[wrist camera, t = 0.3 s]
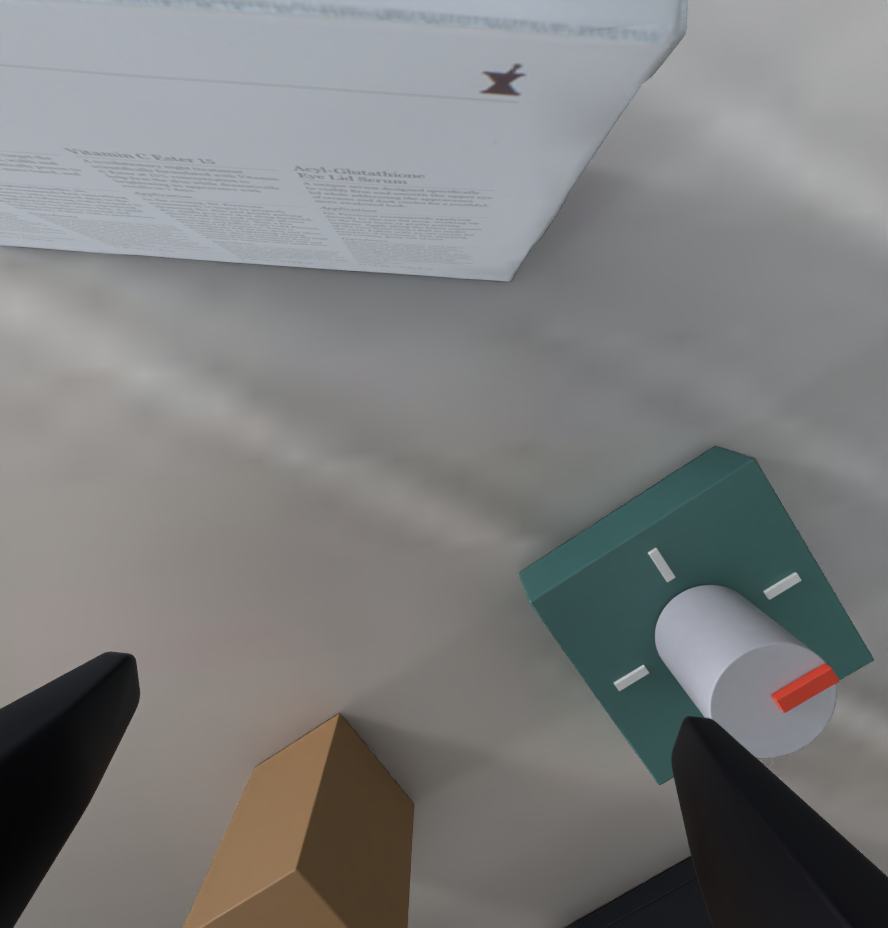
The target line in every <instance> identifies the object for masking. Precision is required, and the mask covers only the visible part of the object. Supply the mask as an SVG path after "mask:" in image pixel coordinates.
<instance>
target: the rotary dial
mask: <svg viewBox="0 0 888 928" xmlns="http://www.w3.org/2000/svg"><path fill="white" fill-rule="evenodd" d="M519 576H520V578H521V581H522V584H523V586H524V589H525V592H526V594H527V597H528V600H529V602H530V604H531V605H532V607H533V608H534V610H535V611H536V612H537V614H538V615H539V617H540V618H541V619H542V621H543V622H544V624H545V625H546V627H547V628H548V629H549V631H550V632H551V634H552V635H553V636H554V638H555V639H556V641H557V642H558V643H559V645H560V646H561V648H562V649H563V651H564V652H565V653H566V655H567V656H568V658H569V659H570V660H571V662H572V663H573V665H574V666H575V667H576V669H577V670H578V672H579V673H580V675H581V676H582V677H583V679H584V680H585V682H586V683H587V684H588V686H589V687H590V689H591V690H592V692H593V693H594V694H595V696H596V697H597V699H598V700H599V701H600V703H601V704H602V706H603V707H604V708H605V710H606V711H607V713H608V714H609V716H610V717H611V718H612V720H613V721H614V723H615V724H616V725H617V727H618V728H619V730H620V731H621V732H622V734H623V735H624V737H625V738H626V740H627V741H628V742H629V744H630V745H631V747H632V748H633V749H634V751H635V752H636V754H637V755H638V756H639V758H640V759H641V761H642V762H643V764H644V765H645V766H646V768H647V769H648V771H649V772H650V773H651V775H652V776H653V778H654V779H655V780H656V782H657V783H658V784H659V785H661V784H663V783H665V782H666V781H668V780H670V779H671V778H673V777H674V775H673V771H672V765H671V755H672V750H673V747H674V744H675V741H676V738H677V735H678V732H679V730H680V727H681V724H682V721H683V719H684V718H685V717H687V716H697V717H704V716H703V714H702V713H701V712H700V710H699V709H698V708H697V706H696V705H695V704H694V702H693V701H692V700H691V698H690V697H689V696H688V694H687V693H686V692H685V690H684V689H683V688H682V686H681V685H680V684H679V682H678V681H677V679H676V678H675V677H674V675H673V674H672V673H671V671H670V670H669V669H668V667H667V666H666V665H665V663H664V662H663V661H662V659H661V657H660V656H659V654H658V651H657V648H656V644H655V629H656V624H657V621H658V619H659V616H660V614H661V612H662V611H663V609H664V608H665V607H666V605H667V604H668V603H669V602H670V601H671V600H672V599H673V598H674V597H676V596H677V595H679V594H680V593H682V592H684V591H686V590H688V589H690V588H693V587H697V586H702V585H719V586H724V587H727V588H730V589H732V590H734V591H736V592H738V593H739V594H740V595H742V596H743V597H744V598H746V599H747V600H748V601H750V602H751V603H752V604H753V605H755V606H756V607H757V608H758V609H760V610H761V611H762V612H764V613H765V614H766V615H767V616H769V617H770V618H771V619H773V620H774V621H775V622H776V623H778V624H779V625H780V626H782V627H783V628H784V629H785V630H787V631H788V632H789V633H791V634H792V635H793V636H794V637H796V638H797V639H798V640H800V641H801V642H802V643H803V644H805V645H806V646H807V647H809V648H810V649H811V650H812V651H814V652H815V653H816V654H818V655H819V656H820V657H821V658H822V659H823V660H824V661H825V662H826V664H827V665H829V666H830V667H831V668H832V669H833V671H834V673H835V674H836V676H837V677H838V679H839V680H841V679H842V678H844V677H846V676H848V675H849V674H851V673H853V672H854V671H856V670H858V669H860V668H861V667H863V666H865V665H866V664H868V663H870V662H872V661H873V660H874V659H873V657H872V655H871V653H870V652H869V650H868V648H867V647H866V645H865V643H864V642H863V640H862V638H861V637H860V635H859V633H858V632H857V630H856V628H855V626H854V625H853V623H852V621H851V620H850V618H849V616H848V615H847V613H846V611H845V610H844V608H843V606H842V605H841V603H840V601H839V599H838V598H837V596H836V594H835V593H834V591H833V589H832V588H831V586H830V584H829V583H828V581H827V579H826V578H825V576H824V574H823V572H822V571H821V569H820V567H819V566H818V564H817V562H816V561H815V559H814V557H813V556H812V554H811V552H810V550H809V549H808V547H807V545H806V544H805V542H804V540H803V539H802V537H801V535H800V534H799V532H798V530H797V529H796V527H795V525H794V523H793V522H792V520H791V518H790V517H789V515H788V513H787V512H786V510H785V508H784V507H783V505H782V503H781V502H780V500H779V498H778V496H777V495H776V493H775V491H774V490H773V488H772V486H771V485H770V483H769V481H768V480H767V478H766V476H765V474H764V473H763V471H762V469H761V468H760V466H759V464H758V463H757V461H756V459H755V458H753V457H750V456H746V455H743V454H740V453H737V452H734V451H730V450H727V449H724V448H721V447H718V446H715V447H713V448H711V449H710V450H708V451H707V452H705V453H704V454H702V455H701V456H699V457H698V458H696V459H694V460H693V461H691V462H690V463H688V464H687V465H685V466H684V467H682V468H681V469H679V470H677V471H676V472H674V473H673V474H671V475H670V476H668V477H667V478H665V479H664V480H662V481H660V482H659V483H657V484H656V485H654V486H653V487H651V488H650V489H648V490H647V491H645V492H643V493H642V494H640V495H639V496H637V497H636V498H634V499H633V500H631V501H630V502H628V503H626V504H625V505H623V506H622V507H620V508H619V509H617V510H616V511H614V512H613V513H611V514H609V515H608V516H606V517H605V518H603V519H602V520H600V521H599V522H597V523H596V524H594V525H592V526H591V527H589V528H588V529H586V530H585V531H583V532H582V533H580V534H578V535H577V536H575V537H574V538H572V539H571V540H569V541H568V542H566V543H565V544H563V545H561V546H560V547H558V548H557V549H555V550H554V551H552V552H551V553H549V554H548V555H546V556H544V557H543V558H541V559H540V560H538V561H537V562H535V563H534V564H532V565H531V566H529V567H527V568H526V569H524V570H523V571H521V572H520V573H519Z"/></svg>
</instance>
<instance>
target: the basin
mask: <svg viewBox="0 0 888 928" xmlns="http://www.w3.org/2000/svg"><path fill="white" fill-rule="evenodd" d="M567 928H713V926H712V923H711V920H710V917H709V914H708V911H707V908H706V904H705V901H704V898H703V895H702V892H701V889H700V886H699V882H698V879H697V876H696V872H695V869H694V865H693V861H692V857H690V858H689V859H687V860H685V861H683V862H682V863H680V864H678V865H676V866H675V867H673V868H671V869H669V870H667V871H666V872H664V873H662V874H660V875H659V876H657V877H655V878H653V879H652V880H650V881H648V882H646V883H644V884H643V885H641V886H639V887H637V888H636V889H634V890H632V891H630V892H629V893H627V894H625V895H623V896H622V897H620V898H618V899H616V900H614V901H613V902H611V903H609V904H607V905H606V906H604V907H602V908H600V909H599V910H597V911H595V912H593V913H592V914H590V915H588V916H586V917H584V918H583V919H581V920H579V921H577V922H576V923H574V924H572V925H570V926H569V927H567Z"/></svg>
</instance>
